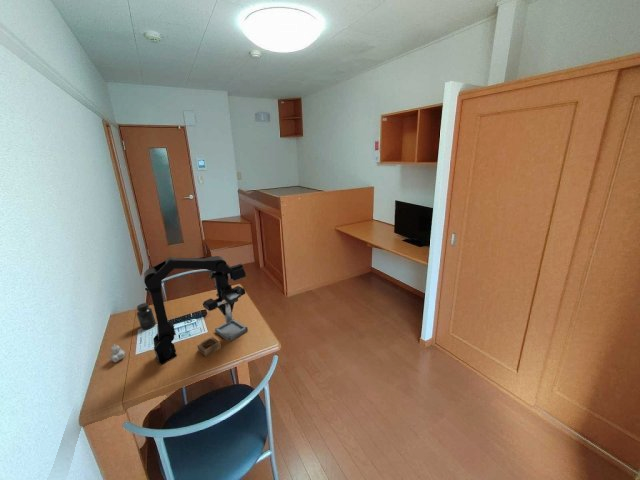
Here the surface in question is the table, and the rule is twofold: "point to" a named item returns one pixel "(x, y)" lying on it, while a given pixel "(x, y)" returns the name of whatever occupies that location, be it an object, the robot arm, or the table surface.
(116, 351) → the grey knobbly cluster
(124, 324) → the table surface
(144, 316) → the supplement bottle
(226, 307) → the pin
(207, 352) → the socket
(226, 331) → the tray
